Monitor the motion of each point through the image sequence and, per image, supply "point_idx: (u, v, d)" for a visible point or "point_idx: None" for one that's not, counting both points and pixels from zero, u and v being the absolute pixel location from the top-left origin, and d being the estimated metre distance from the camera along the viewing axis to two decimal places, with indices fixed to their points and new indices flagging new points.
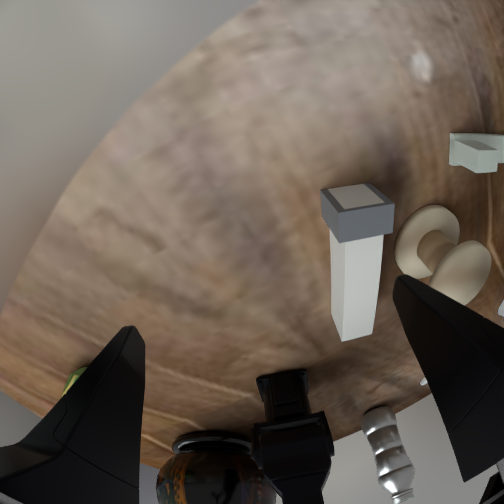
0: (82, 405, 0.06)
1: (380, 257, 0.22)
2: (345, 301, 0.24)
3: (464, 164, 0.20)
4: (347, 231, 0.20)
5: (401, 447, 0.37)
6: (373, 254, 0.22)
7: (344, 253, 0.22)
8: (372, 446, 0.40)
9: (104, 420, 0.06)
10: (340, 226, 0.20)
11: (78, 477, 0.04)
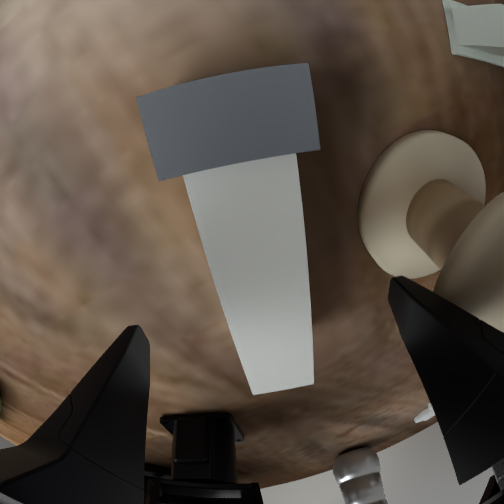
0: (87, 405, 0.06)
1: (300, 223, 0.09)
2: (233, 328, 0.11)
3: (481, 41, 0.07)
4: (173, 145, 0.07)
5: (382, 502, 0.24)
6: (277, 214, 0.09)
7: (194, 211, 0.09)
8: (344, 498, 0.27)
9: (109, 420, 0.06)
10: (152, 134, 0.07)
11: (83, 478, 0.04)
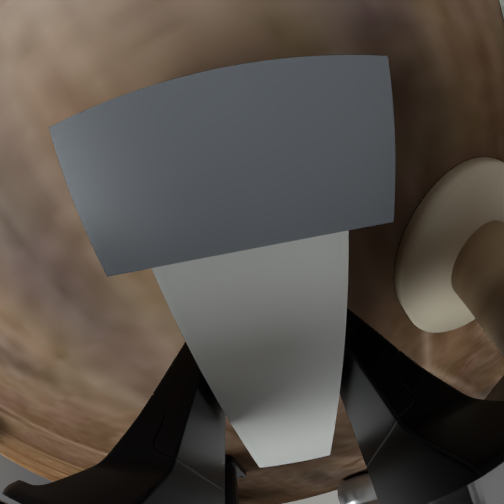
0: (183, 405, 0.06)
1: (340, 322, 0.06)
2: (237, 425, 0.08)
3: None
4: (122, 218, 0.04)
5: None
6: (307, 314, 0.05)
7: (175, 308, 0.05)
8: None
9: (203, 420, 0.06)
10: (85, 195, 0.04)
11: (186, 491, 0.04)
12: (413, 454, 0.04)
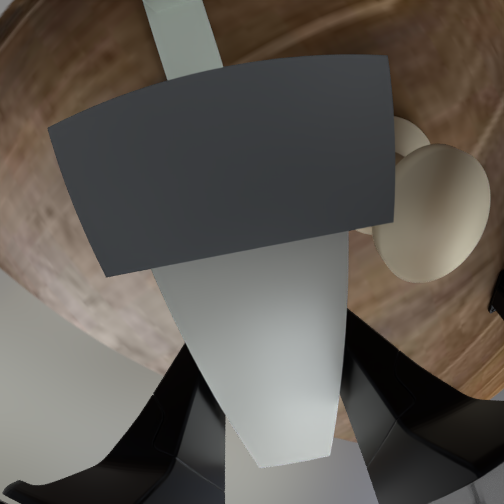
0: (183, 405, 0.06)
1: (340, 323, 0.06)
2: (237, 426, 0.08)
3: None
4: (121, 219, 0.04)
5: None
6: (307, 315, 0.05)
7: (175, 309, 0.05)
8: None
9: (203, 420, 0.06)
10: (84, 196, 0.04)
11: (185, 491, 0.04)
12: (413, 454, 0.04)
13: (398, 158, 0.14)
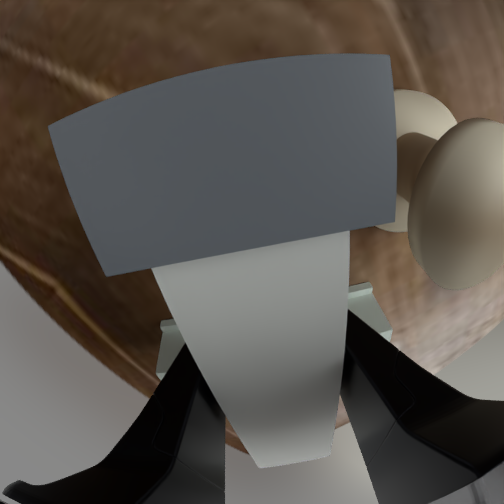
0: (183, 405, 0.06)
1: (341, 323, 0.06)
2: (237, 426, 0.08)
3: None
4: (122, 218, 0.04)
5: None
6: (308, 315, 0.05)
7: (175, 308, 0.05)
8: None
9: (203, 420, 0.06)
10: (84, 195, 0.04)
11: (185, 491, 0.04)
12: (413, 453, 0.04)
13: (400, 177, 0.12)
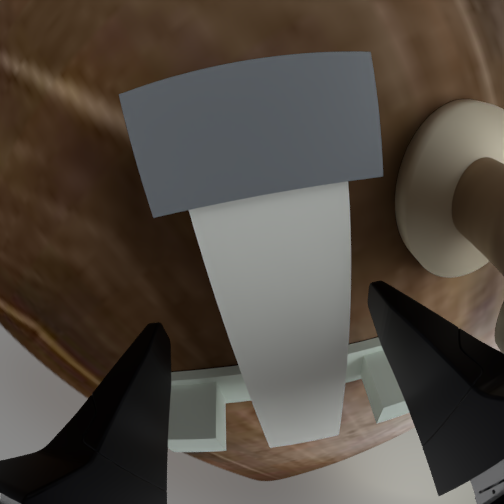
0: (113, 406, 0.06)
1: (346, 273, 0.07)
2: (252, 389, 0.09)
3: None
4: (173, 166, 0.05)
5: None
6: (317, 262, 0.06)
7: (205, 256, 0.07)
8: None
9: (135, 421, 0.06)
10: (143, 149, 0.05)
11: (110, 483, 0.04)
12: (489, 414, 0.04)
13: (476, 221, 0.08)
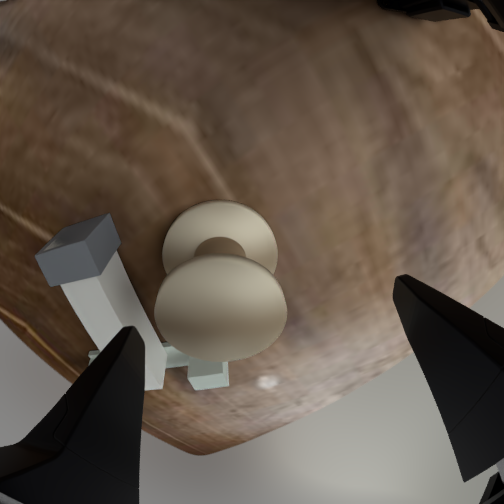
0: (82, 405, 0.06)
1: (108, 303, 0.18)
2: (100, 349, 0.19)
3: None
4: (51, 274, 0.16)
5: None
6: (97, 299, 0.17)
7: (69, 296, 0.17)
8: None
9: (104, 420, 0.06)
10: (44, 269, 0.16)
11: (78, 477, 0.04)
12: None
13: None
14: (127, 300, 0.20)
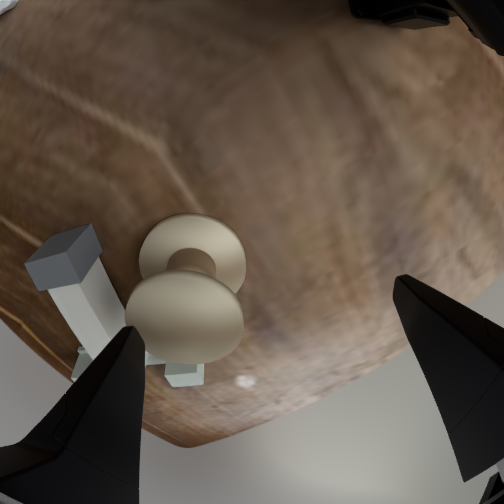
0: (82, 405, 0.06)
1: (89, 307, 0.19)
2: (85, 347, 0.21)
3: None
4: (38, 280, 0.17)
5: None
6: (80, 303, 0.19)
7: (55, 299, 0.19)
8: None
9: (104, 420, 0.06)
10: (32, 275, 0.17)
11: (78, 477, 0.04)
12: None
13: None
14: (109, 303, 0.21)
